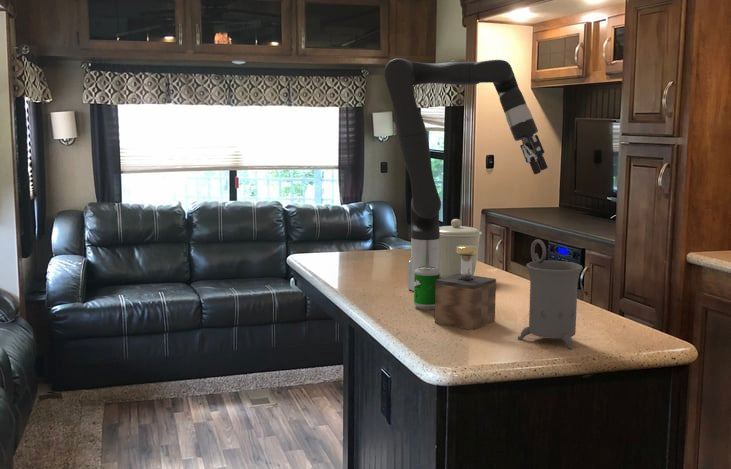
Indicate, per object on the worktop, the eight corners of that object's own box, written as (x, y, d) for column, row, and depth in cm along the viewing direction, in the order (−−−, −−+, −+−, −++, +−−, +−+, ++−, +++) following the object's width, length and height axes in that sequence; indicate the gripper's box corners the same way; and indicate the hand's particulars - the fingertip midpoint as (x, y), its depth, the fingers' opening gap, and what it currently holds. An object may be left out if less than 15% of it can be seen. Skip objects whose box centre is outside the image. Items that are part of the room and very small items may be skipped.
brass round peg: (451, 290, 215) (452, 247, 213) (462, 287, 219) (463, 244, 218) (469, 293, 212) (470, 249, 210) (479, 289, 216) (481, 246, 214)
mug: (596, 346, 194) (601, 246, 190) (546, 352, 188) (550, 250, 185) (552, 328, 211) (556, 236, 207) (504, 333, 206) (507, 239, 202)
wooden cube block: (434, 322, 216) (435, 279, 214) (457, 314, 225) (458, 273, 224) (472, 330, 209) (474, 285, 207) (494, 321, 218) (496, 278, 216)
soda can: (441, 305, 236) (442, 266, 235) (435, 311, 229) (436, 270, 228) (417, 303, 239) (418, 264, 237) (410, 309, 232) (411, 269, 230)
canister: (422, 280, 274) (423, 220, 271) (437, 271, 290) (438, 215, 287) (473, 284, 267) (475, 223, 264) (485, 275, 284) (487, 217, 281)
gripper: (505, 131, 246) (524, 179, 245) (514, 121, 232) (534, 172, 231) (527, 123, 247) (546, 170, 246) (537, 112, 233) (558, 163, 232)
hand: (541, 171), depth 239 cm, fingers open, 8 cm apart
